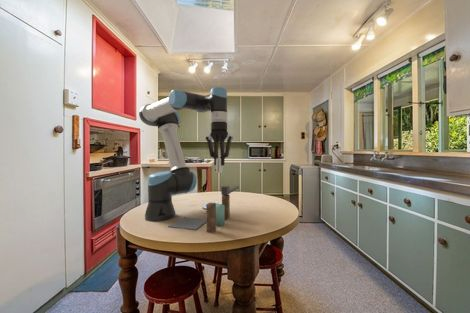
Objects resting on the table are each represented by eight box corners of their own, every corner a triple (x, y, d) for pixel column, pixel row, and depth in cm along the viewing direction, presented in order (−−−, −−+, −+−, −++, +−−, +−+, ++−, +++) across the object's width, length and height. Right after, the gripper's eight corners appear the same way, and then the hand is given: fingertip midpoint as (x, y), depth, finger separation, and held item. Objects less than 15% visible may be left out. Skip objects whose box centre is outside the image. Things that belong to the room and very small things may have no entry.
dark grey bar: (221, 195, 110) (221, 186, 110) (235, 187, 132) (235, 180, 132) (227, 195, 109) (227, 187, 109) (240, 187, 131) (240, 180, 131)
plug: (212, 225, 102) (212, 206, 102) (216, 222, 107) (216, 203, 107) (222, 226, 101) (222, 207, 100) (226, 223, 105) (225, 204, 105)
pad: (168, 226, 101) (168, 225, 101) (184, 217, 114) (184, 216, 114) (195, 230, 96) (195, 229, 96) (209, 220, 110) (209, 219, 110)
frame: (206, 232, 94) (206, 204, 94) (224, 217, 114) (224, 194, 114) (213, 232, 93) (213, 204, 93) (229, 217, 113) (229, 194, 113)
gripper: (201, 121, 101) (202, 172, 102) (230, 120, 97) (231, 173, 98) (208, 123, 108) (208, 171, 109) (235, 122, 104) (235, 172, 105)
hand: (219, 172), depth 103 cm, fingers closed
